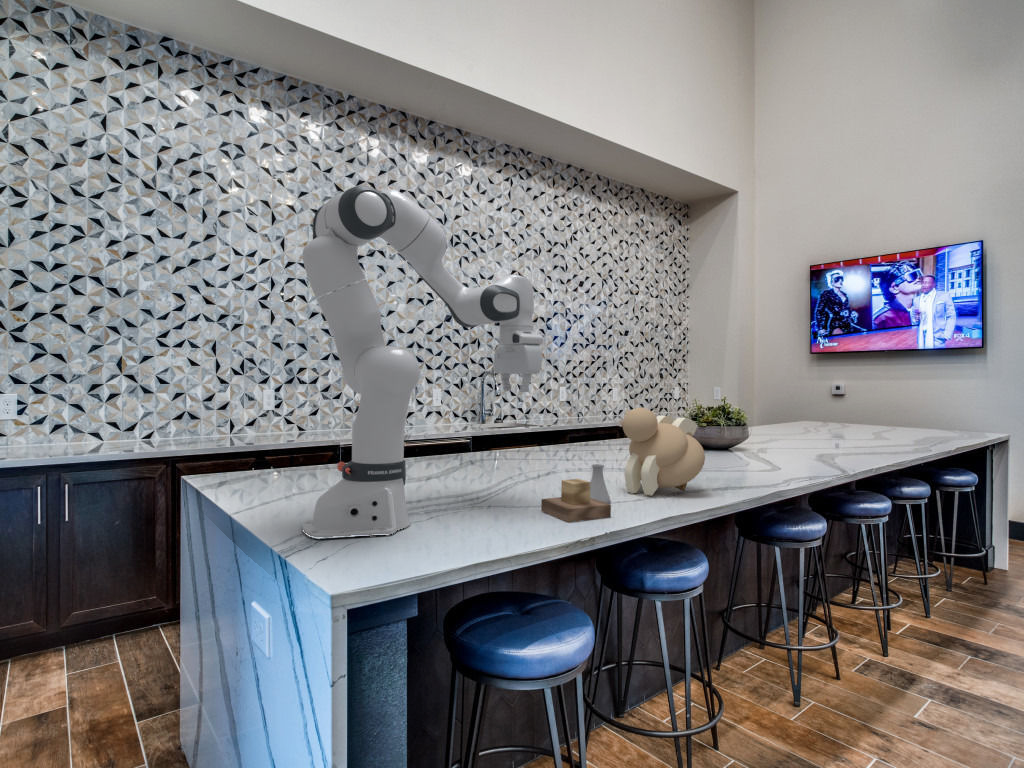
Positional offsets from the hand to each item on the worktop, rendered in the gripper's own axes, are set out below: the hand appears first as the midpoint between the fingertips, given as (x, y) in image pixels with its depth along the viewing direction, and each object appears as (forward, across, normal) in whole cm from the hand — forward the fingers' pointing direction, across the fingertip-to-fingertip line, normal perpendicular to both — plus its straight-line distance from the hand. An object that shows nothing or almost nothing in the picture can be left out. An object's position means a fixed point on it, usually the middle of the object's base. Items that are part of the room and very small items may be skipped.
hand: (515, 391), depth 151 cm
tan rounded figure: (+29, +4, +48) cm, 56 cm away
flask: (+29, +8, +21) cm, 37 cm away
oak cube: (+26, +17, +8) cm, 32 cm away
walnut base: (+29, +17, +8) cm, 35 cm away
